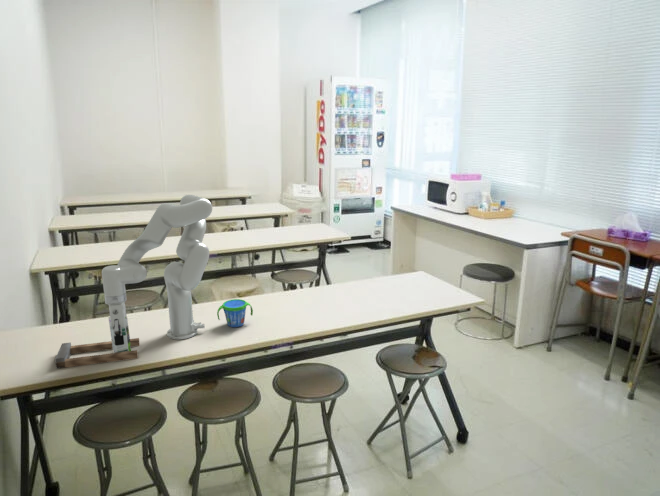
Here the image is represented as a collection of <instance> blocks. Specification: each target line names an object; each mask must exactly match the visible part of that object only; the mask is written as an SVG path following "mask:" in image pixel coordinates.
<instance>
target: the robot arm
mask: <svg viewBox="0 0 660 496" xmlns="http://www.w3.org/2000/svg"><path fill="white" fill-rule="evenodd" d="M212 211H213V204H212V203H211V201H210V200H209V199H208V198H205V197H202V196H201V197H200V196H198V195H193V194H186V195H183V197H182V198H181V199H180V202H179V205H175V204H172V203H167V202H165V203H161V204H160V205H158V206H157V208H156V210H155V211H154V213H153V214H152V216H151V218H150V219H149V221H148V223H147V225H146V227H145V228H144V230H143V232H142V233H141V234H140V235H139V236H138V237H137V238H136V239H134V240H133V242H131V243H130V244H129V245H128V246H127V248H126V249H125V250H124V252H123V253H122V255H121V257H120V258H119V260H118V262H117V265H115V264H113V265H107V266H105V267H103V268H102V270H101V278H102V288H103V295H104V303H105V304H106V305H108V310H109V317H110V320H111V327H112V329H113V328H114V340H115V345H124V337H123V335H122V328H125V327H126V320H125V318H126V317H127V318H128V316H127V309H126V304H125V303H126V301H127V300H128V299H127V291H126V285H129V284H138V283H141V282H143V281H144V280H145V279H146V278H147V276H148V275H147V274H148V271H147V269H146V267H145V266H144V265H143V264H141V263H139V262H140V261H141V259H142V258H143V257H144V255H146V254H147V253H148V252H150V251H151V250H154V249H156V248H159V247H161V246H162V245H163V244H164V242H165V240H166V239H167V237H168V235H169V233H170V231H171V229H172V228H175V229H176V228H177V229H179V228H183V227H184V229H183V231H182V234H181V237H180V238H179V241H178V244H177V247H176V249H175V250H176V251H175V253H176V256H177V257H178V258H179V259H181V260H182V261H184V263H183V262H181V261H180V262H179V261H172V262H171V263H168V264H167V266H165V268H164V271H163V279H164V283H165V286H166V287H165V288H166V293H167V304H168V318H169V328H168V329H167V332H166V336H167V337H168V338H169V339H172V340H185V339H190V338H193V337H195V336H196V335H197V334H198V331H199V329H205V323H202V322H195V320H194V316H193V314H194V313H193V312H194V311H193V300H192V291H193V290H194V289H196V288H197V287H198V285H200V283H201V280H202V278H203V276H204V275H203V274H204V272H205V269H206V267H207V265H208V263H209V259H210V249H209V247H208V246H207V245H206V244H205V243H203V241H204V236H205V234H206V231H207V220H206V219H207V218H209V216H210V215H211V214H212V213H213V212H212ZM113 326H114V327H113ZM119 326H120V327H119ZM119 329H120V331H119Z"/></svg>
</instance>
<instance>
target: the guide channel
mask: <svg viewBox="0 0 660 496" xmlns="http://www.w3.org/2000/svg"><path fill="white" fill-rule="evenodd" d="M71 343H72V342H64V343H61V345H60V347H59V350H58V352H57V353H56V356H55V358H54V362H55V368H56V369H57V370H58V369H65V368H73V367H79V366H89V365H95V364H104V363H111V362H121V361H126V360H127V361H128V360H133V359H139V353H138V350H137V349H136V350H135V349H134V350H131V351H126V352H118V353H114V352H112V353H111V352H110V353H104V354H103V353H102V354H95V355H87V356H79V357H71V355H75V354H83V353H90V352H91V353H92V352H98V351H99V352H100V351H108V350H113V347H112V340H110V341H103V342H93V343H86V344H77V345H72V344H71ZM130 344H131V348H132V347H139V346H140V345H141V344H140V338H139V337H136V338H130Z"/></svg>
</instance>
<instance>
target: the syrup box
mask: <svg viewBox="0 0 660 496" xmlns="http://www.w3.org/2000/svg"><path fill="white" fill-rule="evenodd" d="M125 320H126V327H125V328H122V335H123V337H124V345H115V340H114V328H113V329H112V327H111V320H110V316H108V324H109V330H110V331H109V332H110V338H111V340H110V341H112V347H113V349H112V351H113V353H118V352H126V351H132V347H131V344H130V339H131V337H130V331H129V322H128V321H129V320H128V316H127V317H126V318H125ZM113 327H114V326H113ZM119 327H120V326H119ZM119 331H120V329H119Z"/></svg>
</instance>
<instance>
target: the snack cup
mask: <svg viewBox="0 0 660 496" xmlns="http://www.w3.org/2000/svg"><path fill="white" fill-rule="evenodd" d="M247 306H249V307H250V316H253V313H254V310H253V307H252V305H251V303H249V302H247V301H246V300H245V299H239V298H238V299H237V298H236V299H235V298H234V299H229V300H226V301H224V302H223V303H222V305H220V306H219V307H218V309H217V312H216V313H217V319H218V321H220V320H221V319H220V315H219V314H220V313H219V312H220V311H221V310H222V309H223V312H224V315H225V321H226V324H227V326H228V327H230V328H238V327H239V328H240V327H242V326H244V324H245V318H246V309H247Z"/></svg>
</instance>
